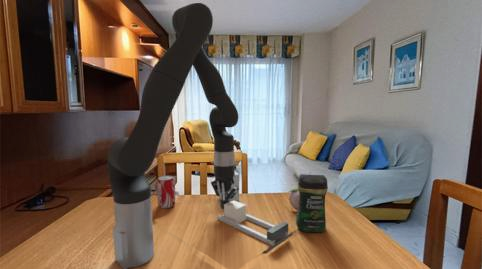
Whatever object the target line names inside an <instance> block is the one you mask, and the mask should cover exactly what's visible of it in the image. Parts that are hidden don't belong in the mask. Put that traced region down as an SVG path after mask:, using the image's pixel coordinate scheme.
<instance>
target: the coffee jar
mask: <svg viewBox="0 0 482 269" xmlns="http://www.w3.org/2000/svg"><path fill="white" fill-rule="evenodd" d="M297 181H298V182H297V189H299V193H300V195H299V205H298V210H297V213H296V219H295V221H296V222H295V224H296V226H297V228H298V230H299V231H301V232H303V233H304V232H305V233H323V232H325V231H326V227H327V224H326V221H327V220H326V204H325V203H326V195H327V192H328V190H329V188H328V179H327V177H326V176H325V175H324V174H305V173H304V174H302V173H301V174H299V176H298V180H297Z"/></svg>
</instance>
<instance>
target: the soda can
mask: <svg viewBox="0 0 482 269" xmlns="http://www.w3.org/2000/svg"><path fill="white" fill-rule="evenodd" d="M157 178H158V180H157V181H156V191H157V192H156V194H157V205H158V207H159V208H162V209H170V208H172V207H174V206H175V205H176V182H175V179H174V176H173V175H161V176H159V177H157Z"/></svg>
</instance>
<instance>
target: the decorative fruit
mask: <svg viewBox="0 0 482 269" xmlns="http://www.w3.org/2000/svg"><path fill="white" fill-rule="evenodd" d="M288 193H289V195H288V201H289V204H290V206H291V207H292V208H293V209H295V210H296V211H298V205H299V195H300V193H299V189H298V188H292V189H290V190H289V191H288Z"/></svg>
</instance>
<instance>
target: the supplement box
mask: <svg viewBox="0 0 482 269" xmlns="http://www.w3.org/2000/svg"><path fill="white" fill-rule="evenodd" d="M233 180H234V185H235V186H236V187H238V188H239V190H238V192H237V193H236V194H235V196H234V197H233V198H232V199H229V202H231V201H234V200H235V201H237V202H239V201H240V174H239V173H238V172H237V171H236V170H235V175H234V177H233ZM226 196H227V194H226Z"/></svg>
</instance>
